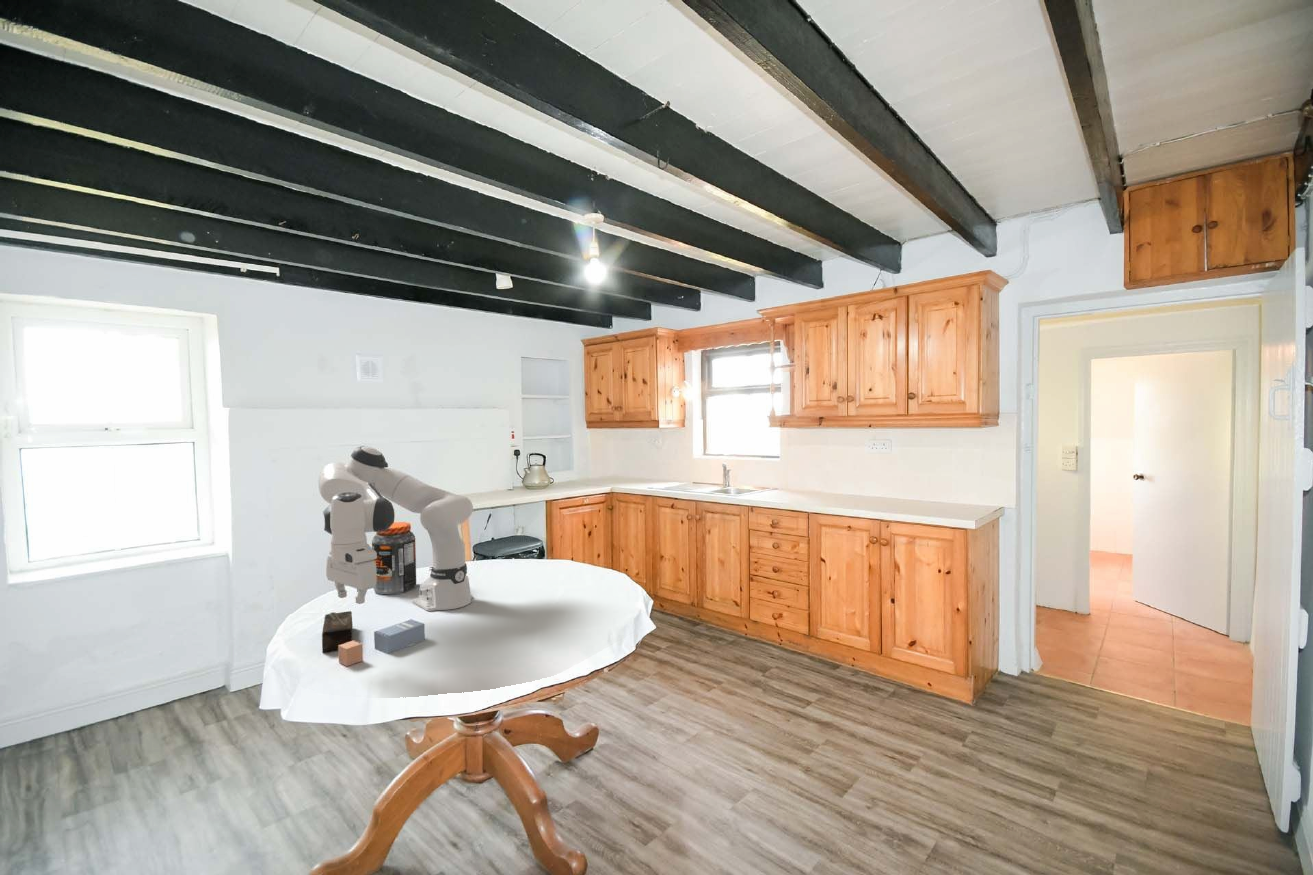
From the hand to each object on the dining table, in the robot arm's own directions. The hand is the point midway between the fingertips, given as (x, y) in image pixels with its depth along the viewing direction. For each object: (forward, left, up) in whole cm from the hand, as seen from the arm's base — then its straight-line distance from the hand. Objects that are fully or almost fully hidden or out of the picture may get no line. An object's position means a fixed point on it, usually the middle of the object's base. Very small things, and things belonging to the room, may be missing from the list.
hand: (351, 600), depth 159 cm
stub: (0, -1, -18) cm, 18 cm away
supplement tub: (-53, +44, -18) cm, 71 cm away
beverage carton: (-20, +5, -18) cm, 27 cm away
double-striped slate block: (0, +14, -18) cm, 23 cm away
